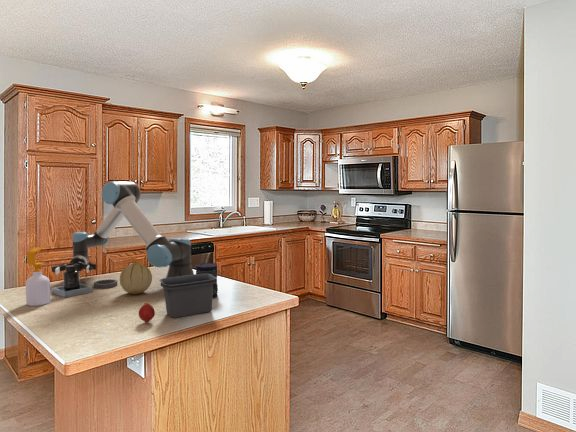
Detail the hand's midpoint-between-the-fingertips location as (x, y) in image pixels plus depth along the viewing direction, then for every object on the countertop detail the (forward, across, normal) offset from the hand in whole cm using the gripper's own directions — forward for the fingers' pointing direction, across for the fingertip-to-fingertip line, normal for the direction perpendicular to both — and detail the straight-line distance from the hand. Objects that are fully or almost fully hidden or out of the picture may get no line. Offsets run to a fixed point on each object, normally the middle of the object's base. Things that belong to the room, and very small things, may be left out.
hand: (71, 271), depth 206 cm
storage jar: (+31, -61, -10) cm, 69 cm away
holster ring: (-6, -14, -10) cm, 19 cm away
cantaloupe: (+15, -30, -10) cm, 35 cm away
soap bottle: (+19, +11, -10) cm, 24 cm away
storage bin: (+53, -50, -10) cm, 73 cm away
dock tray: (+3, 0, -10) cm, 10 cm away
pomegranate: (+61, -34, -10) cm, 70 cm away
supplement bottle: (+3, 0, -9) cm, 9 cm away
